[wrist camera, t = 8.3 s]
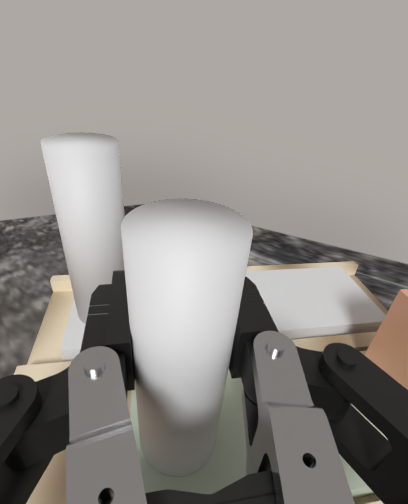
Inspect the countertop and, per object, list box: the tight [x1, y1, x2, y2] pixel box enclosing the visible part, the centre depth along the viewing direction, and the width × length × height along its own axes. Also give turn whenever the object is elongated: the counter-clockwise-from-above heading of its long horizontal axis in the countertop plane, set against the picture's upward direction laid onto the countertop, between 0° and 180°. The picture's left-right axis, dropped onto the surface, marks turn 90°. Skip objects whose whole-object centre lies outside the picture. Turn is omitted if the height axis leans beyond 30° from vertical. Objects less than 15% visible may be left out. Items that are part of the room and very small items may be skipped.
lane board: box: [14, 261, 388, 504], centre depth 18 cm, size 24×16×2 cm, turn 100°
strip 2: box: [121, 199, 388, 498], centre depth 12 cm, size 20×6×11 cm, turn 100°
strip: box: [41, 133, 386, 362], centre depth 18 cm, size 20×6×11 cm, turn 100°
